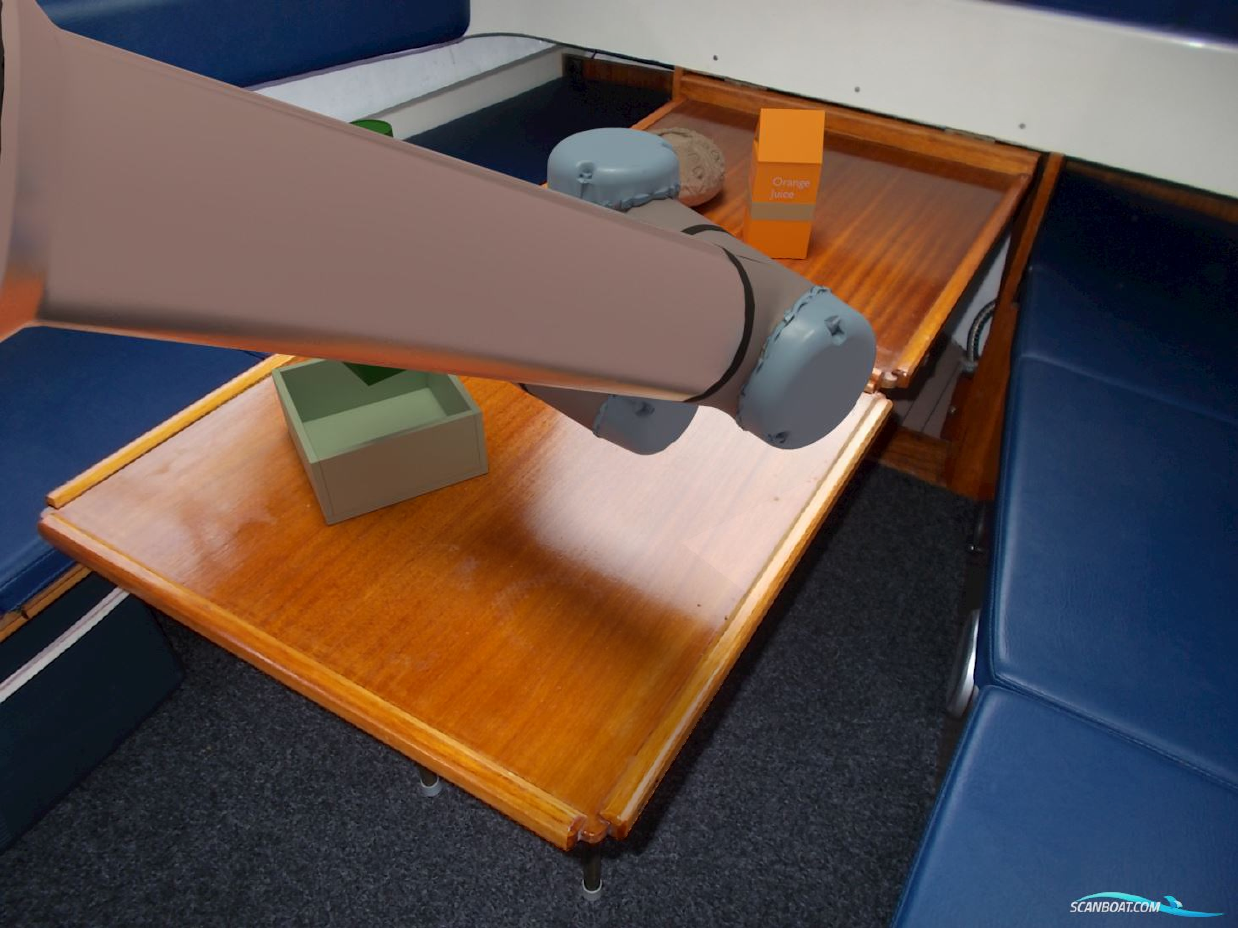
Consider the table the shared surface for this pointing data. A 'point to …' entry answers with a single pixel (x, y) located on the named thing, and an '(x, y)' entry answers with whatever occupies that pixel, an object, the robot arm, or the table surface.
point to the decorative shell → (695, 164)
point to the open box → (379, 434)
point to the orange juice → (783, 181)
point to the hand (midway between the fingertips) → (330, 227)
